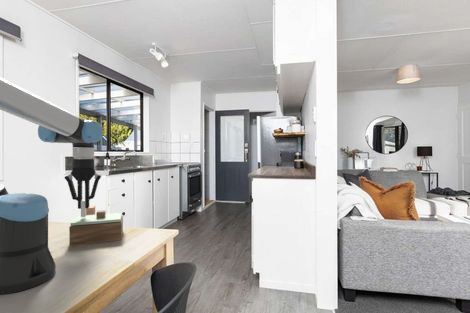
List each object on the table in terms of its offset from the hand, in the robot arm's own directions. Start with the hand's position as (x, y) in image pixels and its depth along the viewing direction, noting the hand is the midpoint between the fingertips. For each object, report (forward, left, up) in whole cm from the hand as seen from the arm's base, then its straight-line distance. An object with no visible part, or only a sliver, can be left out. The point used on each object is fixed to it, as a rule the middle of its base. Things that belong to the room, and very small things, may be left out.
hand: (83, 216), depth 103 cm
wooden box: (0, -5, -9) cm, 11 cm away
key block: (+15, +1, -9) cm, 18 cm away
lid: (0, -5, -2) cm, 6 cm away
